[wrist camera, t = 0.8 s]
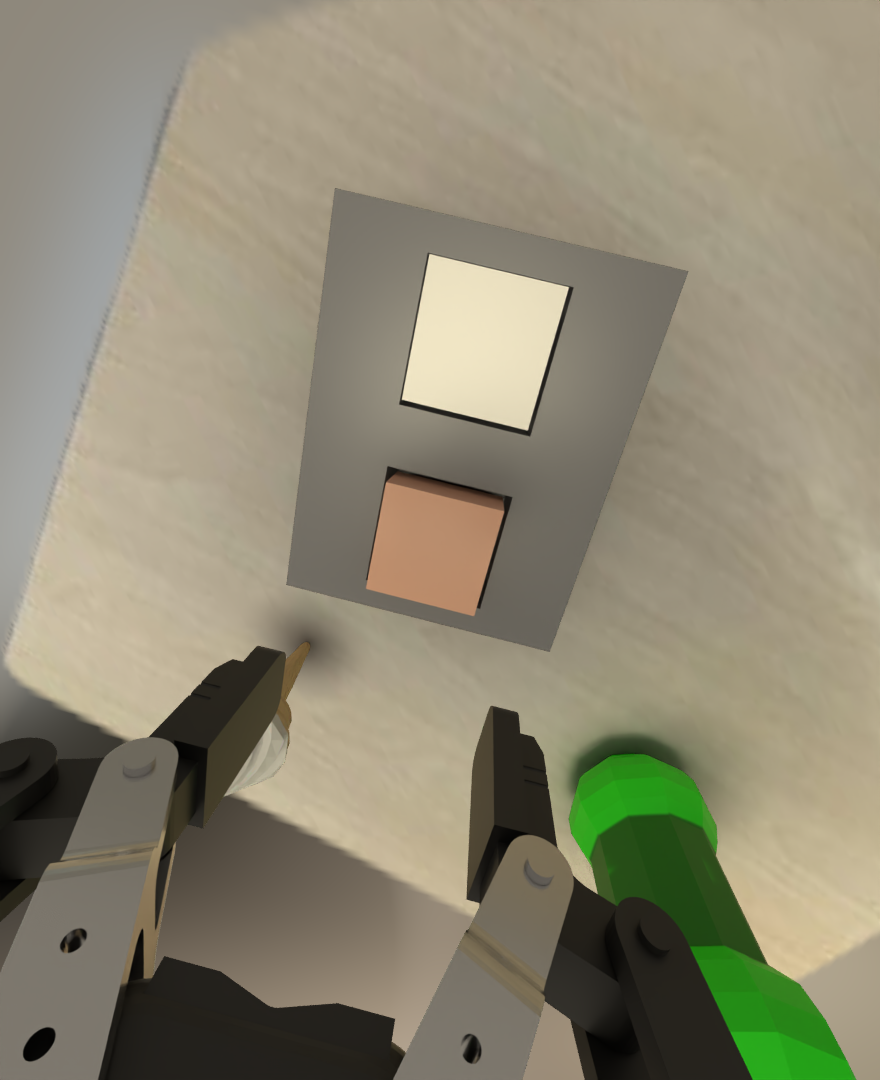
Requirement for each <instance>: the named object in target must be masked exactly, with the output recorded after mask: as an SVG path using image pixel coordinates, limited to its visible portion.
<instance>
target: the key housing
mask: <svg viewBox="0 0 880 1080" xmlns="http://www.w3.org/2000/svg"><path fill="white" fill-rule="evenodd" d="M429 254H432V255H436V256H440V257H444V258H448V259H453V260H457V261H461V262H465V263H469V264H474V265H478V266H482V267H486V268H490V269H495V270H499V271H503V272H507V273H512V274H516V275H520V276H524V277H528V278H533V279H537V280H541V281H545V282H549V283H554V284H558V285H562V286H566V287H569V289H568V293H567V296H566V299H565V303H564V306H563V310H562V313H561V317H560V320H559V324H558V327H557V331H556V334H555V338H554V341H553V345H552V348H551V351H550V355H549V358H548V362H547V365H546V369H545V372H544V376H543V379H542V383H541V386H540V390H539V393H538V397H537V400H536V403H535V407H534V410H533V414H532V417H531V421H530V424H529V428H528V430H524V429H520V428H516V427H512V426H507V425H503V424H499V423H495V422H491V421H487V420H483V419H479V418H475V417H471V416H467V415H462V414H458V413H454V412H450V411H446V410H442V409H438V408H434V407H430V406H426V405H422V404H418V403H413V402H409V401H405V400H402V396H403V391H404V386H405V380H406V375H407V370H408V365H409V359H410V354H411V349H412V343H413V338H414V333H415V328H416V322H417V317H418V312H419V307H420V301H421V296H422V291H423V286H424V280H425V275H426V270H427V265H428V259H429ZM687 274H688V271H685V270H681V269H676V268H672V267H668V266H664V265H659V264H655V263H651V262H647V261H643V260H638V259H634V258H630V257H626V256H621V255H617V254H613V253H609V252H604V251H600V250H596V249H592V248H587V247H583V246H579V245H575V244H570V243H566V242H562V241H558V240H553V239H549V238H545V237H541V236H536V235H532V234H528V233H524V232H519V231H515V230H511V229H507V228H502V227H498V226H494V225H490V224H486V223H481V222H477V221H473V220H469V219H464V218H460V217H456V216H452V215H447V214H443V213H439V212H435V211H430V210H426V209H422V208H418V207H413V206H409V205H405V204H401V203H396V202H392V201H388V200H384V199H379V198H375V197H371V196H367V195H362V194H358V193H354V192H350V191H345V190H341V189H337V188H335V192H334V200H333V208H332V216H331V224H330V232H329V241H328V249H327V257H326V265H325V273H324V281H323V290H322V298H321V306H320V314H319V322H318V330H317V339H316V347H315V355H314V363H313V371H312V379H311V388H310V396H309V404H308V412H307V420H306V428H305V437H304V445H303V453H302V461H301V469H300V477H299V486H298V494H297V502H296V510H295V518H294V526H293V535H292V543H291V551H290V559H289V567H288V575H287V584H286V585H289V586H293V587H297V588H301V589H305V590H309V591H312V592H316V593H320V594H324V595H328V596H332V597H336V598H340V599H344V600H348V601H352V602H356V603H360V604H364V605H368V606H371V607H375V608H379V609H383V610H387V611H391V612H395V613H399V614H403V615H407V616H411V617H415V618H419V619H423V620H426V621H430V622H434V623H438V624H442V625H446V626H450V627H454V628H458V629H462V630H466V631H470V632H474V633H478V634H481V635H485V636H489V637H493V638H497V639H501V640H505V641H509V642H513V643H517V644H521V645H525V646H529V647H533V648H537V649H540V650H544V651H548V652H550V649H551V647H552V644H553V641H554V638H555V636H556V633H557V630H558V627H559V625H560V622H561V619H562V616H563V614H564V611H565V608H566V605H567V603H568V600H569V597H570V594H571V592H572V589H573V586H574V584H575V581H576V578H577V575H578V573H579V570H580V567H581V564H582V562H583V559H584V556H585V553H586V551H587V548H588V545H589V542H590V540H591V537H592V534H593V531H594V529H595V526H596V523H597V521H598V518H599V515H600V512H601V510H602V507H603V504H604V501H605V499H606V496H607V493H608V490H609V488H610V485H611V482H612V479H613V477H614V474H615V471H616V468H617V466H618V463H619V460H620V457H621V455H622V452H623V449H624V447H625V444H626V441H627V438H628V436H629V433H630V430H631V427H632V425H633V422H634V419H635V416H636V414H637V411H638V408H639V405H640V403H641V400H642V397H643V394H644V392H645V389H646V386H647V384H648V381H649V378H650V375H651V373H652V370H653V367H654V364H655V362H656V359H657V356H658V353H659V351H660V348H661V345H662V342H663V340H664V337H665V334H666V331H667V329H668V326H669V323H670V321H671V318H672V315H673V312H674V310H675V307H676V304H677V301H678V299H679V296H680V293H681V290H682V288H683V285H684V282H685V279H686V277H687ZM397 471H399V472H403V473H407V474H411V475H415V476H420V477H424V478H428V479H432V480H436V481H440V482H444V483H448V484H452V485H456V486H460V487H464V488H468V489H472V490H476V491H480V492H484V493H488V494H492V495H496V496H500V497H503V505H504V514H503V518H502V521H501V525H500V528H499V532H498V535H497V539H496V542H495V546H494V549H493V553H492V556H491V559H490V563H489V566H488V570H487V573H486V577H485V580H484V584H483V587H482V591H481V594H480V598H479V601H478V605H477V608H476V611H475V615H474V616H471V615H467V614H463V613H459V612H455V611H451V610H447V609H443V608H439V607H436V606H432V605H428V604H424V603H420V602H416V601H412V600H408V599H404V598H400V597H396V596H392V595H388V594H384V593H380V592H376V591H372V590H369V589H366V585H367V580H368V575H369V570H370V564H371V559H372V554H373V549H374V543H375V538H376V533H377V528H378V522H379V517H380V512H381V507H382V501H383V496H384V491H385V485H386V482H387V481H388V480H389V479H390V478H391V477H392V476H393V475H394V474H395V473H396V472H397Z"/></svg>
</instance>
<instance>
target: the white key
mask: <svg viewBox="0 0 880 1080" xmlns="http://www.w3.org/2000/svg"><path fill="white" fill-rule="evenodd" d="M568 289H569V287H566V286H562V285H558V284H554V283H549V282H545V281H541V280H537V279H533V278H528V277H524V276H520V275H516V274H512V273H507V272H503V271H499V270H495V269H490V268H486V267H482V266H478V265H474V264H469V263H465V262H461V261H457V260H453V259H448V258H444V257H440V256H436V255H432V254H429V259H428V265H427V270H426V275H425V280H424V286H423V291H422V296H421V301H420V307H419V312H418V317H417V322H416V328H415V333H414V338H413V343H412V349H411V354H410V359H409V365H408V370H407V375H406V380H405V386H404V391H403V396H402V400H405V401H409V402H413V403H418V404H422V405H426V406H430V407H434V408H438V409H442V410H446V411H450V412H454V413H458V414H462V415H467V416H471V417H475V418H479V419H483V420H487V421H491V422H495V423H499V424H503V425H507V426H512V427H516V428H520V429H524V430H528V428H529V424H530V421H531V417H532V414H533V410H534V407H535V403H536V400H537V397H538V393H539V390H540V386H541V383H542V379H543V376H544V372H545V369H546V365H547V362H548V358H549V355H550V351H551V348H552V345H553V341H554V338H555V334H556V331H557V327H558V324H559V320H560V317H561V313H562V310H563V306H564V303H565V299H566V296H567V293H568Z"/></svg>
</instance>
